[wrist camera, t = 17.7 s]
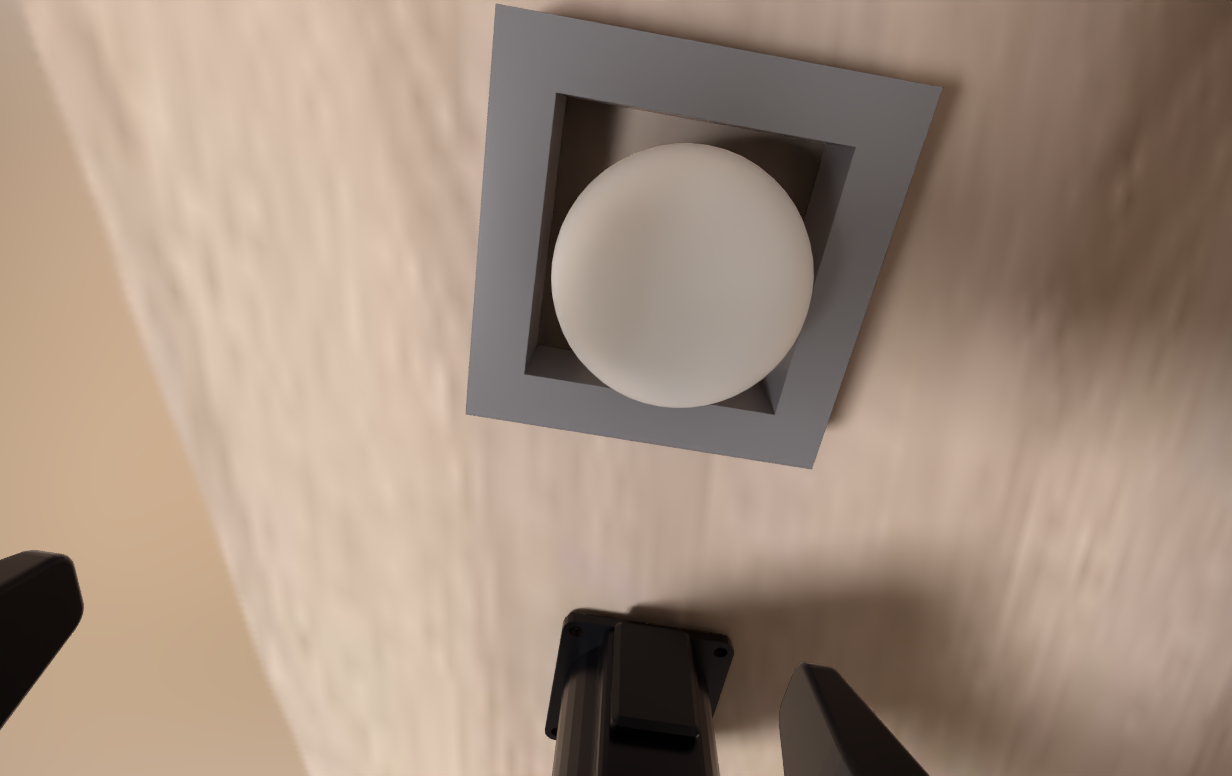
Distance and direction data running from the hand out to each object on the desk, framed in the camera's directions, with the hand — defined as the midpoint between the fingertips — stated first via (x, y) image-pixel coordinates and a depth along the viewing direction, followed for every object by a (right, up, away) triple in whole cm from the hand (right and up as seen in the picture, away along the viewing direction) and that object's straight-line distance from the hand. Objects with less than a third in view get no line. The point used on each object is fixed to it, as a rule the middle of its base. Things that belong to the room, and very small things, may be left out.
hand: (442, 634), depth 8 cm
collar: (+4, +7, +10) cm, 13 cm away
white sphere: (+4, +7, +10) cm, 13 cm away
